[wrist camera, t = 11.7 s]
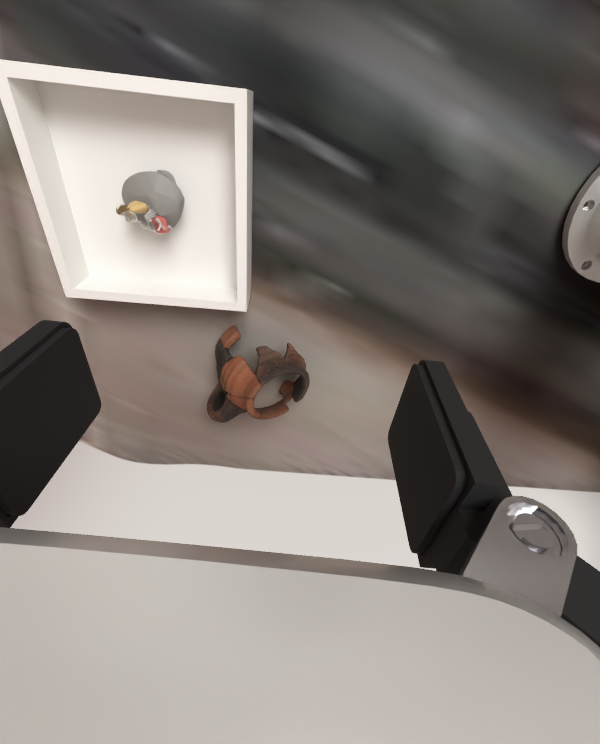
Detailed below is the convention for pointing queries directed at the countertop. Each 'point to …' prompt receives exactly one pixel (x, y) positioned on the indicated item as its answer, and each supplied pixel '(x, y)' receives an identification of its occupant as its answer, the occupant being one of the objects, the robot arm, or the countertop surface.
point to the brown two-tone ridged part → (253, 380)
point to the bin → (125, 158)
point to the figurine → (152, 200)
